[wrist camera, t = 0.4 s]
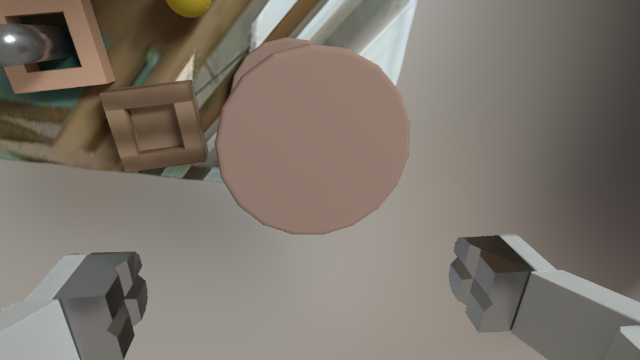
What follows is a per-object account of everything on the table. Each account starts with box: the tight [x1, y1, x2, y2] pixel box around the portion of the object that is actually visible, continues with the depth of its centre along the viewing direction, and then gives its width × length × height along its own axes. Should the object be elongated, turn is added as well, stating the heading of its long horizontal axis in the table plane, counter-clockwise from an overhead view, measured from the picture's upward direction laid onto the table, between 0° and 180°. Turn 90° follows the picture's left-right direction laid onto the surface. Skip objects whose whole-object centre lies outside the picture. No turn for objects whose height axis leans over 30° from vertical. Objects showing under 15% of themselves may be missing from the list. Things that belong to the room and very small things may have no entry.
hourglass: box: [215, 38, 410, 234], centre depth 43 cm, size 18×18×25 cm
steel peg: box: [0, 24, 74, 67], centre depth 41 cm, size 4×4×12 cm
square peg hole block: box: [99, 80, 208, 173], centre depth 50 cm, size 11×11×4 cm
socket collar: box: [0, 0, 115, 94], centre depth 45 cm, size 11×11×3 cm
